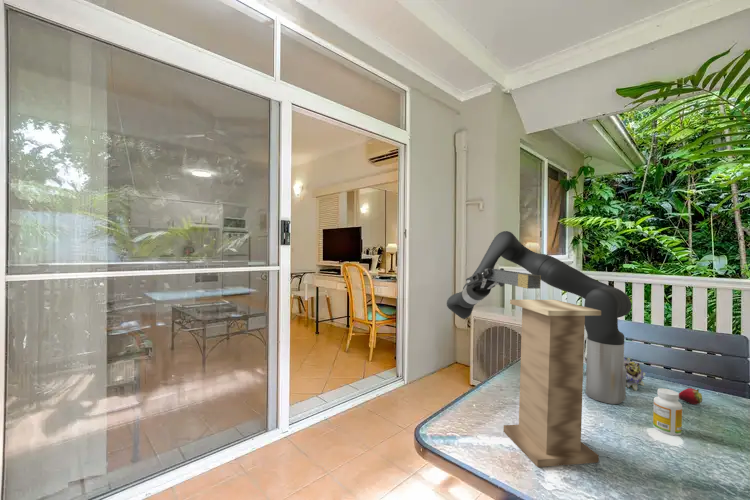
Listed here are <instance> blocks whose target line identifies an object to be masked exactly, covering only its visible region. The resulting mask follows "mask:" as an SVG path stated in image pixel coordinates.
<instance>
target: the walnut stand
mask: <svg viewBox="0 0 750 500" xmlns="http://www.w3.org/2000/svg"><path fill="white" fill-rule="evenodd" d="M509 305H512V306H513V305H514V306H517V307H519V308H521V309H522V310H521V336H520V337H521V338H520V339H521V341H520V343H521V344H520V373H519V375H520V376H519V403H518V405H519V406H518V407H519V409H518V424H507V425H504V424H503V433H504V434H505V435H506V436H507V437H508V438H509V439H510V440H511V441H512V442H513V443H514V444H515V445H516V446H517V448H519V450H520V451H521V452H522V453H523V454H524V455H525V456H526V457H527V458H528V459H529V460H530V461H531V462H532V463H533V464H534V466H536V467H537V468H544V467H555V466H557V467H559V466H568V465H569V466H571V465H581V464H582V465H583V464H593V463H599V462H600V460H599V459H600V456H599V454H598V453H597V452H595V451H594V450H593V449H592V448H590V447H589V446H587V445H586V444H585V443H584V442H582V423H583V422H582V420H583V416H582V414H583V413H582V412H583V392H584V391H583V388H584V386H583V383H584V357H585V356H584V353H585V351H584V350H585V330H586V329H585V316H599V315H601V310H596V309H592V308H588V307H584V305H579V304H574V303H570V302H566V301H562V300H558V299H510V301H509Z"/></svg>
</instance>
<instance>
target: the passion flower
mask: <svg viewBox="0 0 750 500" xmlns="http://www.w3.org/2000/svg"><path fill="white" fill-rule="evenodd" d="M624 368H625V369H626V389H629V388H630V389H631V390H633V391H634V392H636V391H637V390H638V385H640V386H642V387H645V383H644V381H645V376H646V372H644V371H643V370H642V369H641V366H640V363H639V362H638V363H635V361H633V360H631V358H630V357H624Z"/></svg>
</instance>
